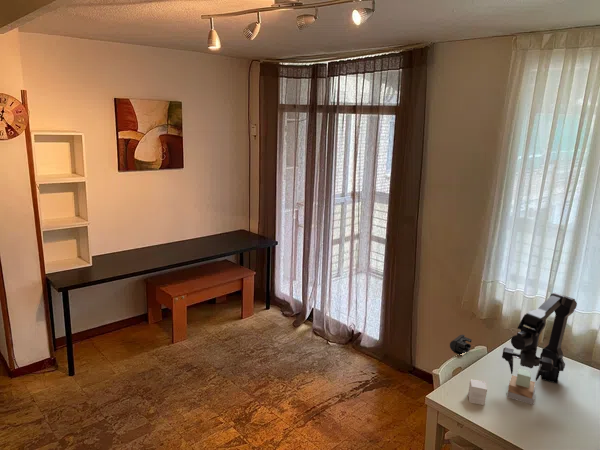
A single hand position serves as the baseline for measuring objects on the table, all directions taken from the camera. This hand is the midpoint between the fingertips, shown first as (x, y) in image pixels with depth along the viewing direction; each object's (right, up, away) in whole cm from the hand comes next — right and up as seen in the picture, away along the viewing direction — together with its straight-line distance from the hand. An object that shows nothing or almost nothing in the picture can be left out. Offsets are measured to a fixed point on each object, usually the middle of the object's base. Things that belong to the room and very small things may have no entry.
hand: (523, 376), depth 189 cm
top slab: (0, -6, +1) cm, 6 cm away
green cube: (0, -3, +1) cm, 3 cm away
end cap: (-14, 0, +38) cm, 40 cm away
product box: (-21, -9, -3) cm, 23 cm away
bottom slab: (0, -9, +2) cm, 9 cm away
